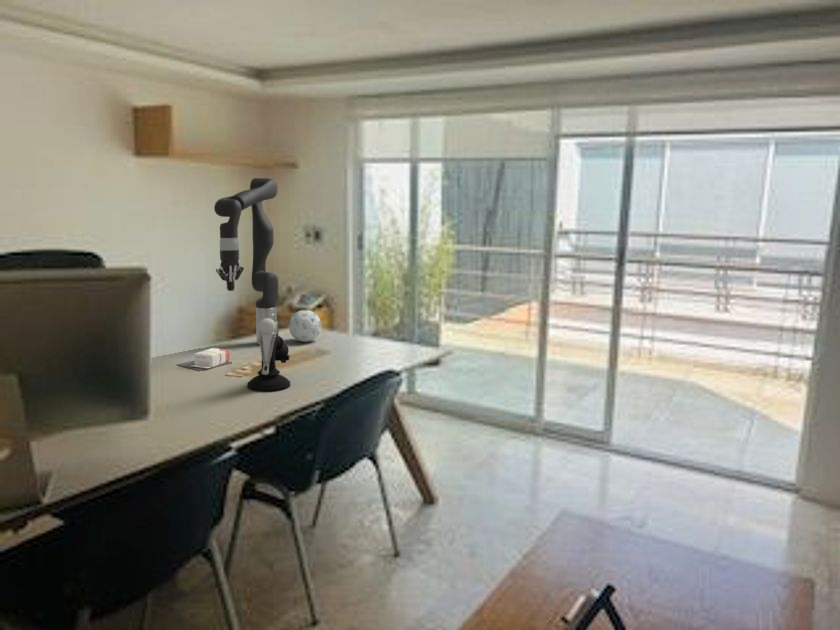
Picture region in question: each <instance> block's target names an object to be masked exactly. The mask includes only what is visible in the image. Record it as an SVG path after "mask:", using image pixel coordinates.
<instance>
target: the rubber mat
mask: <svg viewBox="0 0 840 630" xmlns="http://www.w3.org/2000/svg"><path fill="white" fill-rule="evenodd" d="M230 364H233V362H232V361H228V362H225V363H222V364H220V365H217V366H214V367H211V368H201V366H200V367H194V366H191V365H195V359H194V360H190V361H186V362H181V363H177V364H176V366H179V367H182V368H186V369H190V370H193V371H199V372H200V371H201V372H202V371H204V370H205V371H206V370H209V369H214V368H217V367H221V366H226V365H230Z"/></svg>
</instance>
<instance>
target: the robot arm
mask: <svg viewBox="0 0 840 630" xmlns="http://www.w3.org/2000/svg"><path fill="white" fill-rule="evenodd" d="M277 194H278V184H277V182H276V180H275V179H273V178H270V177H269V178H267V177H265V178H263V177H262V178H261V177H255V178H253V179H251V181H250V185H249V189H244V190H242V191H239V192H238V193H236V194H234V195H231V196H227V197H222V198H220V199H218V200H217V201H215V204H214V207H213V209H214V212H215V214H216V215H217V216H219V217H223V218H229V219H228V220H227V221H226V222H222V223H221V224H220V225H219V260H220V261H221V262H220V264H219V265H220V266H219V268H216V269H215V272H216V273H217V275H218V276H219V277H220V279H221V281H225V283H226V290H227V291H229V292H232V291H235V281H238V280H239V278H240V276H241V275H242V274H243V271H244V269H245V267H243V266H241V265H240V262H239V260H240V245H239V244H240V243H239V232H238V228H239V224H240V219H241V214H242V212H243V211H244V210H245V209H248V208H249V207H251V214H252V216H251V217H252V268H251V287H252V288H253V289H254V291H256V292H260V293H262V297H261V298H260V299H258V300H256V302H255V319H256V320H255V323H256V325H255V326H256V336H255V337H256V344H257V345H258V346H260V345H261V344H260V343H261V342H260V340H261V339H260V338H261V337H260V335H261V334H260V333H261V332H260V330H259V328H258V325H259V322H260V321H261V320H263V319H265V318H269V319H272V320H273V321H274V322H275V323H276V329H275V330H276V332H277V335H278V336H279V322H278V321H277V318H278V317H277V303H278V300H279V279H278V277H277V275H276V273H273V272H269V271H268V272H267V270H266V265H267V258H268V256H269V255H270V252H271V251H272V248H273V246H274V228H273V225H272V223H271V221H270V220H269V217H268V216H267V214H266V213H265V210H264V207H263V201H267V200H271V199H275V197H276V196H277Z"/></svg>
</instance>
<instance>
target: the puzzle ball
mask: <svg viewBox="0 0 840 630" xmlns="http://www.w3.org/2000/svg"><path fill="white" fill-rule="evenodd" d="M288 330H289V333H290V335H291V336H292V337H293V338H294V340H296V341H298V342H303V343H306V342H311V341H315V339H316V338H317V337H318V336H319V335H320V333H321V330H322V322H321V319H320V317H319V316H318V315H317V314H316V312H313V311H312V310H309V309H303V310H299V311H297V312H295V313H294V314H293V315H292V316H291V318H290V320H289V323H288Z"/></svg>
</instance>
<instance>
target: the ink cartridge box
mask: <svg viewBox="0 0 840 630" xmlns="http://www.w3.org/2000/svg"><path fill="white" fill-rule="evenodd" d="M193 356H194V360H195V365H191V366H194V367H200V366H201V368H210V369H212V368H211V367H214V366H217V365H220V364H222V363H225V362H228V361H229V362H231V360H230V350H229V349H223V348H215V347H211V348H209V349H205V350H203V351H202V350H201V351H198V352H195V353H194V355H193ZM214 368H215V367H214Z"/></svg>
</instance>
